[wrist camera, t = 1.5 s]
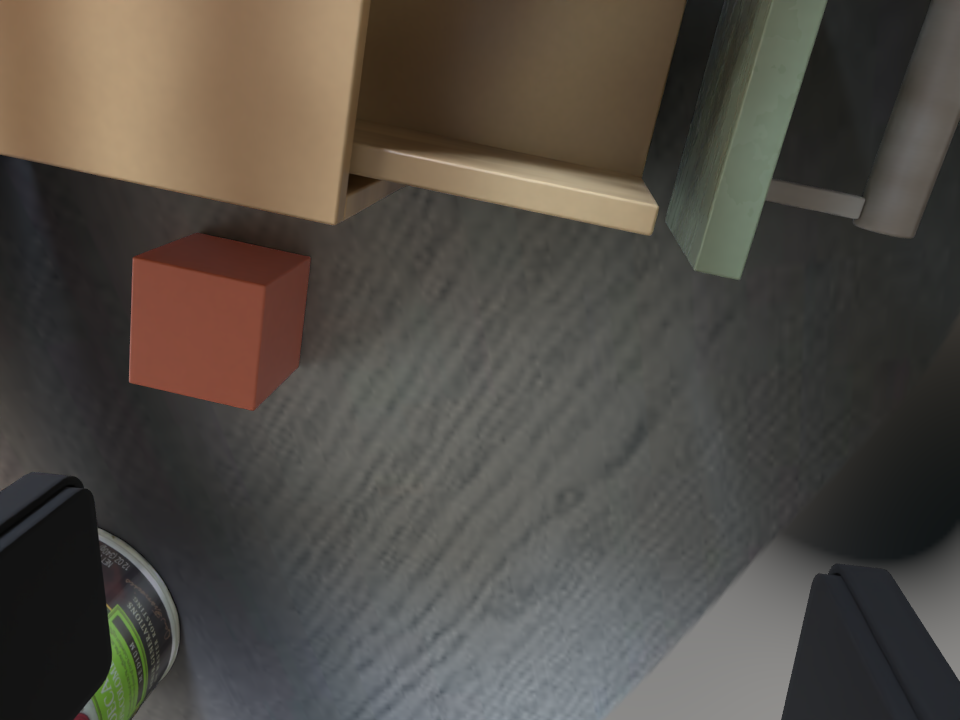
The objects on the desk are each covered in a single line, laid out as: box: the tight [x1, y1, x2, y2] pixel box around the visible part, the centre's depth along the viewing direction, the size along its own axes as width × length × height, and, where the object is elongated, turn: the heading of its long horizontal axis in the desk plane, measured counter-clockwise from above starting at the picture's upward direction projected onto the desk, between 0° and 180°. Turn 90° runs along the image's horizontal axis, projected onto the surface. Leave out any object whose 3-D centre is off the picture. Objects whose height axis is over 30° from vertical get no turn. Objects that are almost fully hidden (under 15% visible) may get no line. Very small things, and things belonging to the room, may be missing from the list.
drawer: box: [349, 0, 960, 280], centre depth 22 cm, size 19×10×8 cm, turn 80°
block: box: [129, 233, 311, 411], centre depth 29 cm, size 5×5×5 cm
